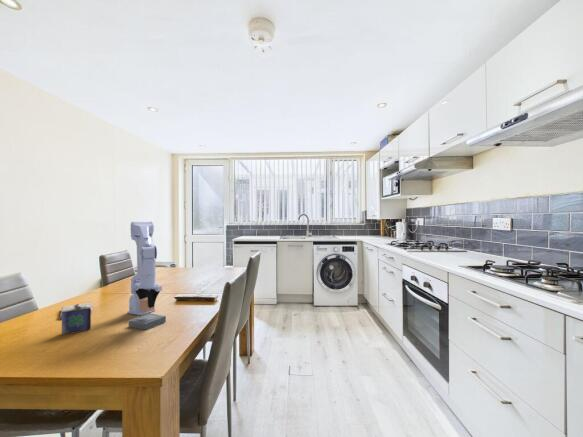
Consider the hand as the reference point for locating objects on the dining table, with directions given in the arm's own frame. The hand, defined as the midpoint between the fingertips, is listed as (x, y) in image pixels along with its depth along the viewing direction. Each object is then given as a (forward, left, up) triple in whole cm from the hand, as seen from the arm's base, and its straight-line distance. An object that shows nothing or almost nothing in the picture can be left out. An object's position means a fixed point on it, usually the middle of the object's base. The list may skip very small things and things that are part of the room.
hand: (147, 306), depth 118 cm
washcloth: (-45, -3, -8) cm, 46 cm away
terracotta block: (0, 0, -2) cm, 2 cm away
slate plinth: (0, 0, -8) cm, 8 cm away
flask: (-19, -17, -8) cm, 27 cm away
